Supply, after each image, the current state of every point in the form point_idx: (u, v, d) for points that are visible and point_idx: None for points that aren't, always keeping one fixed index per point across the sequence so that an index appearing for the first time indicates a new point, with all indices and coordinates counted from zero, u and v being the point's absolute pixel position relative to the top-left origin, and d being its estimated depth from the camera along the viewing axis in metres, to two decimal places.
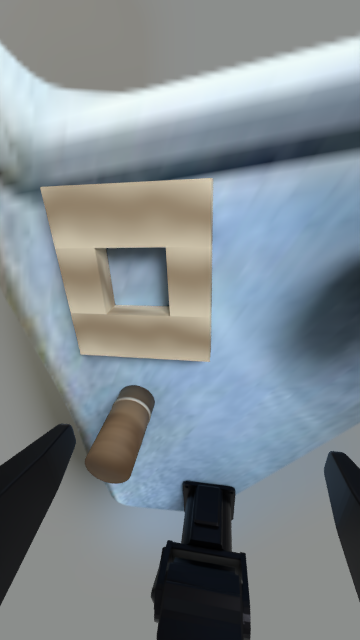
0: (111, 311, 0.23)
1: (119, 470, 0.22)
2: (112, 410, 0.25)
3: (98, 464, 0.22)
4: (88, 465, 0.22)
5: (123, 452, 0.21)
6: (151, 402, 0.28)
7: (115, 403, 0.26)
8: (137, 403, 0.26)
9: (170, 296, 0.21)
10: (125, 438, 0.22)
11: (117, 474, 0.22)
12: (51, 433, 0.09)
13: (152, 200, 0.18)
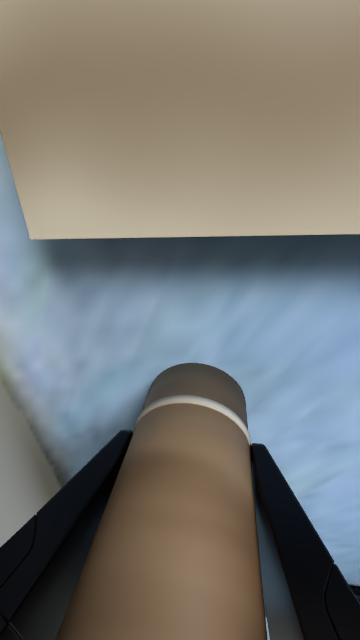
0: None
1: None
2: (141, 439, 0.08)
3: None
4: None
5: None
6: (245, 410, 0.10)
7: (148, 415, 0.08)
8: (220, 415, 0.08)
9: None
10: (225, 597, 0.05)
11: None
12: (116, 440, 0.09)
13: None
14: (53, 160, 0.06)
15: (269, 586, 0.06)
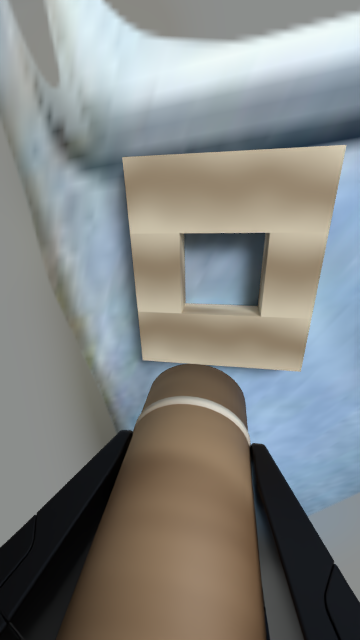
0: (185, 310, 0.19)
1: None
2: (141, 440, 0.08)
3: None
4: None
5: None
6: (244, 411, 0.10)
7: (148, 416, 0.08)
8: (220, 416, 0.08)
9: (265, 293, 0.17)
10: (224, 600, 0.05)
11: None
12: (115, 440, 0.09)
13: (263, 173, 0.15)
14: (154, 342, 0.20)
15: (269, 586, 0.06)
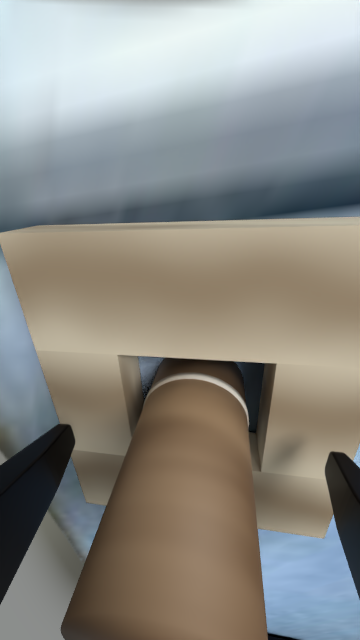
0: None
1: None
2: (151, 409, 0.09)
3: None
4: None
5: (238, 605, 0.05)
6: (243, 389, 0.11)
7: (157, 390, 0.09)
8: (221, 389, 0.09)
9: (268, 444, 0.10)
10: (226, 521, 0.06)
11: None
12: (50, 433, 0.09)
13: (263, 270, 0.07)
14: (100, 486, 0.13)
15: None
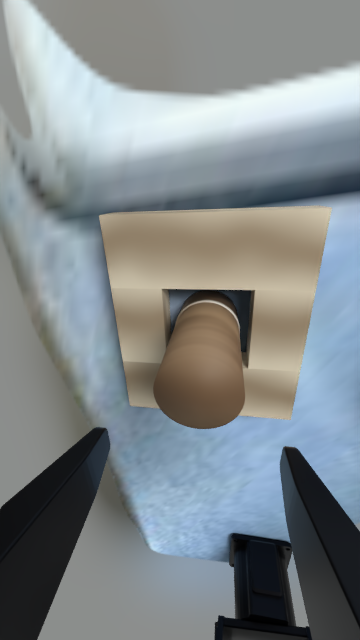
0: None
1: (221, 399, 0.11)
2: (183, 316, 0.15)
3: (180, 388, 0.11)
4: (159, 392, 0.12)
5: (231, 362, 0.11)
6: (237, 315, 0.17)
7: (185, 310, 0.16)
8: (223, 307, 0.16)
9: (252, 346, 0.17)
10: (226, 344, 0.12)
11: (214, 408, 0.12)
12: (88, 437, 0.09)
13: (246, 234, 0.14)
14: (141, 390, 0.20)
15: (314, 594, 0.06)
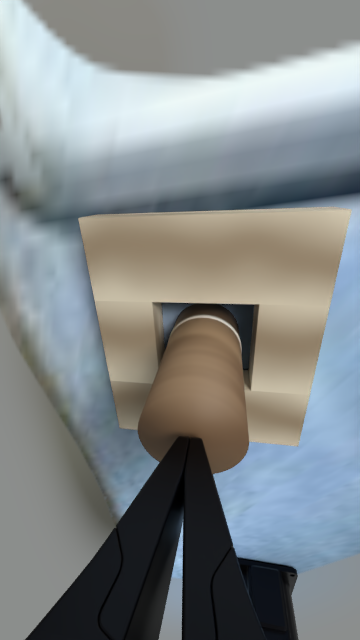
0: None
1: (219, 443, 0.09)
2: (177, 334, 0.13)
3: (170, 429, 0.09)
4: (145, 433, 0.10)
5: (232, 400, 0.09)
6: (238, 331, 0.15)
7: (179, 326, 0.14)
8: (222, 323, 0.14)
9: (255, 367, 0.15)
10: (225, 374, 0.10)
11: (212, 453, 0.10)
12: (176, 446, 0.08)
13: (249, 240, 0.12)
14: (131, 411, 0.18)
15: None
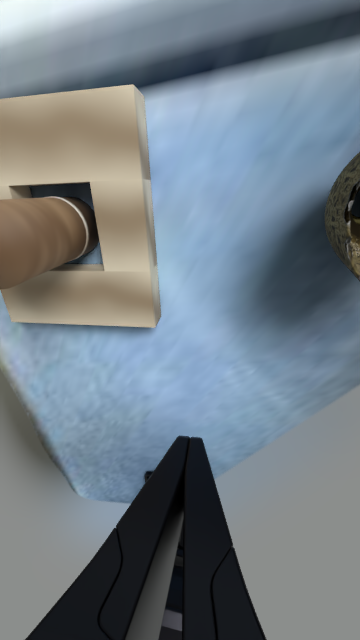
0: None
1: (5, 251, 0.12)
2: None
3: None
4: None
5: (10, 212, 0.12)
6: (92, 219, 0.18)
7: None
8: (64, 201, 0.16)
9: (102, 246, 0.17)
10: (22, 207, 0.13)
11: (4, 263, 0.12)
12: (175, 446, 0.08)
13: (66, 118, 0.15)
14: (17, 303, 0.20)
15: None
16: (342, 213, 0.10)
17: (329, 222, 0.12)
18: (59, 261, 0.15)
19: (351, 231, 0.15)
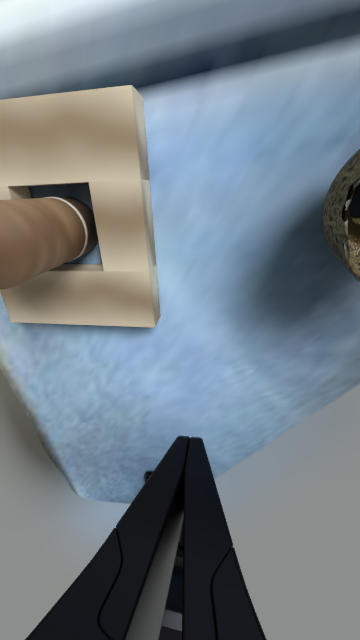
0: None
1: (4, 251, 0.12)
2: None
3: None
4: None
5: (9, 213, 0.12)
6: (91, 219, 0.18)
7: None
8: (63, 201, 0.16)
9: (101, 246, 0.17)
10: (21, 207, 0.13)
11: (3, 263, 0.12)
12: (176, 446, 0.08)
13: (65, 119, 0.15)
14: (17, 303, 0.21)
15: None
16: (339, 212, 0.10)
17: (327, 221, 0.12)
18: (58, 261, 0.15)
19: (349, 230, 0.15)
